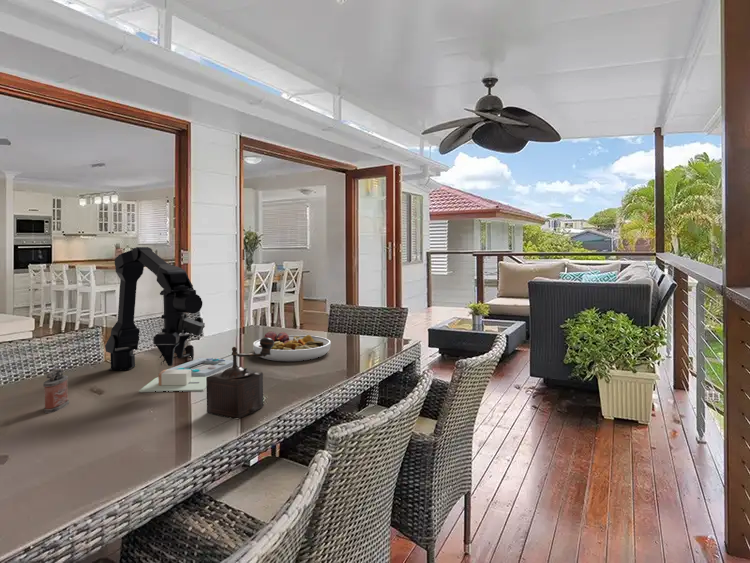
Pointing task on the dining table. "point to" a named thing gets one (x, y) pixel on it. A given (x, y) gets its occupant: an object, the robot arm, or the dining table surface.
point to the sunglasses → (189, 352)
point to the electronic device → (208, 371)
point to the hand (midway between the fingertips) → (175, 361)
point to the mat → (176, 386)
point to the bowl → (294, 347)
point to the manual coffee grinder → (237, 387)
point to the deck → (175, 377)
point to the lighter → (55, 391)
